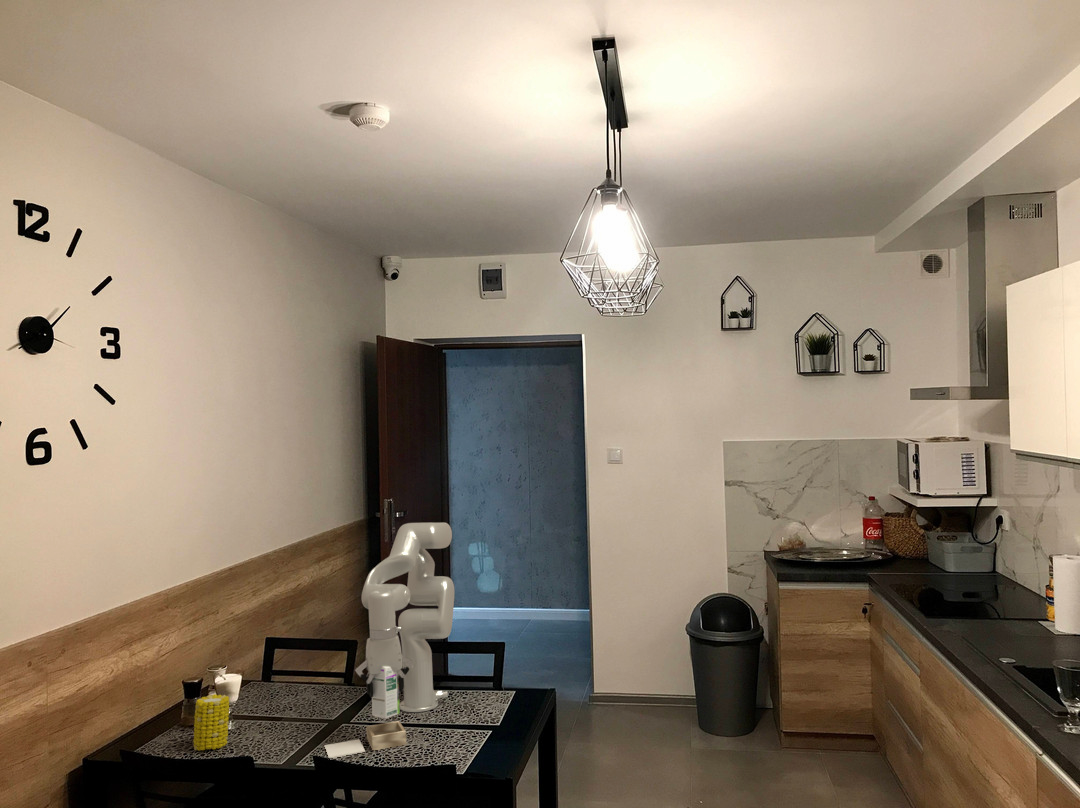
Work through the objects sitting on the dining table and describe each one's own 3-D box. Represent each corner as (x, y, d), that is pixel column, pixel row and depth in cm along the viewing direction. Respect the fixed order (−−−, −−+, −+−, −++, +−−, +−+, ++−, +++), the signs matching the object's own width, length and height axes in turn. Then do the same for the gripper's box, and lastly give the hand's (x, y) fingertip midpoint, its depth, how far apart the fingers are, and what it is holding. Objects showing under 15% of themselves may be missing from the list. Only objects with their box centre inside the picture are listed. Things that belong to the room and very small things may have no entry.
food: (187, 755, 242) (217, 745, 250) (213, 752, 236) (242, 742, 245) (180, 702, 245) (210, 693, 253) (206, 697, 239) (235, 689, 247)
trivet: (359, 741, 243) (359, 739, 243) (365, 753, 234) (365, 750, 234) (324, 747, 240) (324, 745, 240) (328, 759, 230) (328, 757, 230)
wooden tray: (399, 734, 248) (398, 720, 248) (406, 745, 239) (406, 731, 239) (367, 740, 244) (366, 726, 244) (372, 751, 235) (372, 737, 235)
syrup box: (385, 719, 238) (385, 667, 239) (371, 716, 241) (371, 665, 242) (399, 714, 242) (399, 663, 244) (385, 711, 246) (385, 661, 247)
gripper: (409, 625, 249) (412, 684, 249) (350, 634, 243) (353, 694, 243) (415, 632, 242) (418, 692, 242) (354, 640, 236) (357, 702, 236)
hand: (385, 692), depth 243 cm, fingers closed on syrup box, 8 cm apart
